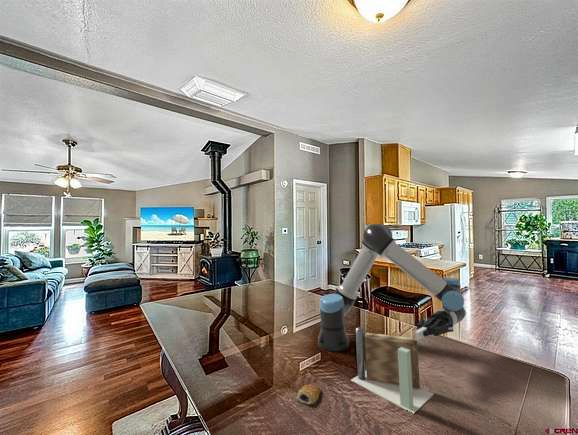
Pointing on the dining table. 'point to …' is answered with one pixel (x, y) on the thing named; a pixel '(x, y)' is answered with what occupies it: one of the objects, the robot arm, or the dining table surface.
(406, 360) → the latch post
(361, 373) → the hinge post
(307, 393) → the pastry
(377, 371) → the gate
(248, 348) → the dining table surface
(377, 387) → the mat
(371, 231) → the robot arm
